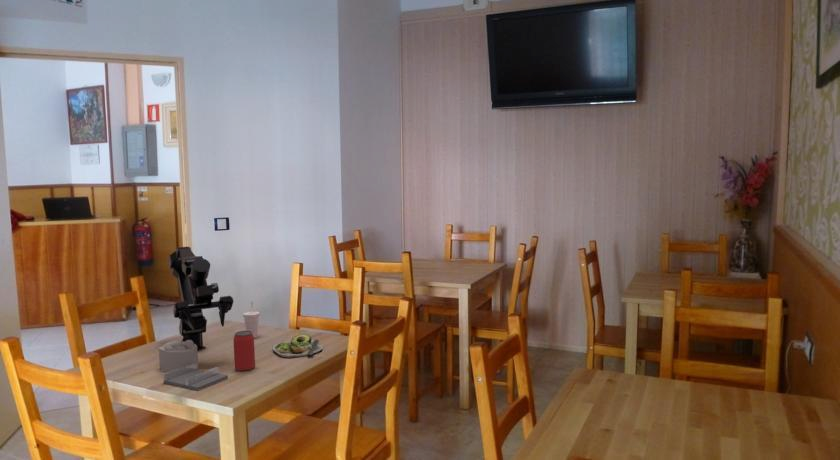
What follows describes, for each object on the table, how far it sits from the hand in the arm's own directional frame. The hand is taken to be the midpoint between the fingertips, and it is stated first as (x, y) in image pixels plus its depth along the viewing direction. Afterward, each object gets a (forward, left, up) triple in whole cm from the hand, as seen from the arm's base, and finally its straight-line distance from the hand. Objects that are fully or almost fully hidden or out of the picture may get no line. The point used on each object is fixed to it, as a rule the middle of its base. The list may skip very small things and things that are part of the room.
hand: (208, 328), depth 203 cm
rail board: (+11, +5, -14) cm, 18 cm away
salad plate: (-29, +13, -14) cm, 35 cm away
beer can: (-5, +10, -14) cm, 18 cm away
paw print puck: (+4, -10, -14) cm, 18 cm away
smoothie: (-35, -15, -14) cm, 41 cm away
